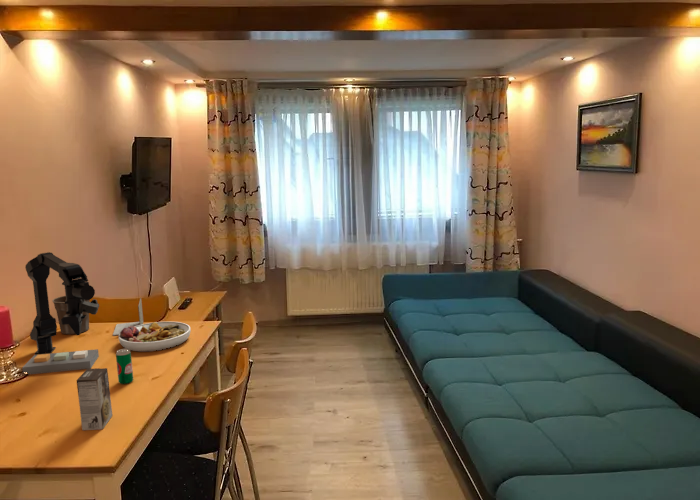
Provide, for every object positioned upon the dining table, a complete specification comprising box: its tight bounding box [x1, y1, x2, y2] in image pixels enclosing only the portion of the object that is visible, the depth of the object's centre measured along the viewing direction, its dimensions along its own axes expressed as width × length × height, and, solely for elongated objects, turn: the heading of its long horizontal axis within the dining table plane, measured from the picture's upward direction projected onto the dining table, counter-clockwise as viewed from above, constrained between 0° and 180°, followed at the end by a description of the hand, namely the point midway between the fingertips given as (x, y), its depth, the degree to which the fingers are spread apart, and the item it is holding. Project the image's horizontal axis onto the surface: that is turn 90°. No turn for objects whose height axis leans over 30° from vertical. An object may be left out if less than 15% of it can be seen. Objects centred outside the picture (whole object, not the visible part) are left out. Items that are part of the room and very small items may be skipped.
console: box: [22, 349, 100, 375], centre depth 224 cm, size 14×24×3 cm, turn 102°
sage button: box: [54, 351, 70, 361], centre depth 224 cm, size 4×4×3 cm
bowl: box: [118, 321, 191, 352], centre depth 250 cm, size 30×30×8 cm
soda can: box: [115, 348, 134, 385], centre depth 205 cm, size 5×5×12 cm
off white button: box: [73, 349, 89, 359], centre depth 226 cm, size 4×4×3 cm
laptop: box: [112, 297, 144, 336], centre depth 269 cm, size 18×12×13 cm
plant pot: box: [52, 295, 91, 335], centre depth 268 cm, size 16×16×16 cm
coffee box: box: [76, 367, 113, 431], centre depth 173 cm, size 9×6×16 cm
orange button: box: [34, 353, 51, 362], centre depth 223 cm, size 4×4×3 cm
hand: (78, 335), depth 224 cm, fingers closed
